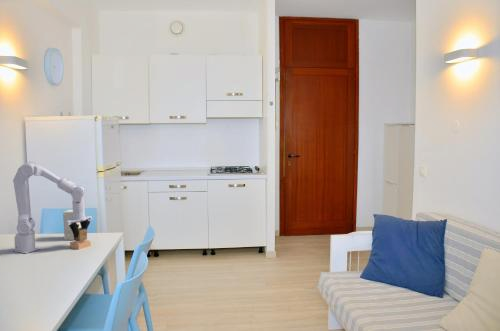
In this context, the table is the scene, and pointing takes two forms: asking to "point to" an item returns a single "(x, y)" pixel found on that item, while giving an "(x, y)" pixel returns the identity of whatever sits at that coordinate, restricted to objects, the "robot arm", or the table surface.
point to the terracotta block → (80, 244)
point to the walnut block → (81, 234)
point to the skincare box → (67, 230)
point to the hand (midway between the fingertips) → (80, 236)
